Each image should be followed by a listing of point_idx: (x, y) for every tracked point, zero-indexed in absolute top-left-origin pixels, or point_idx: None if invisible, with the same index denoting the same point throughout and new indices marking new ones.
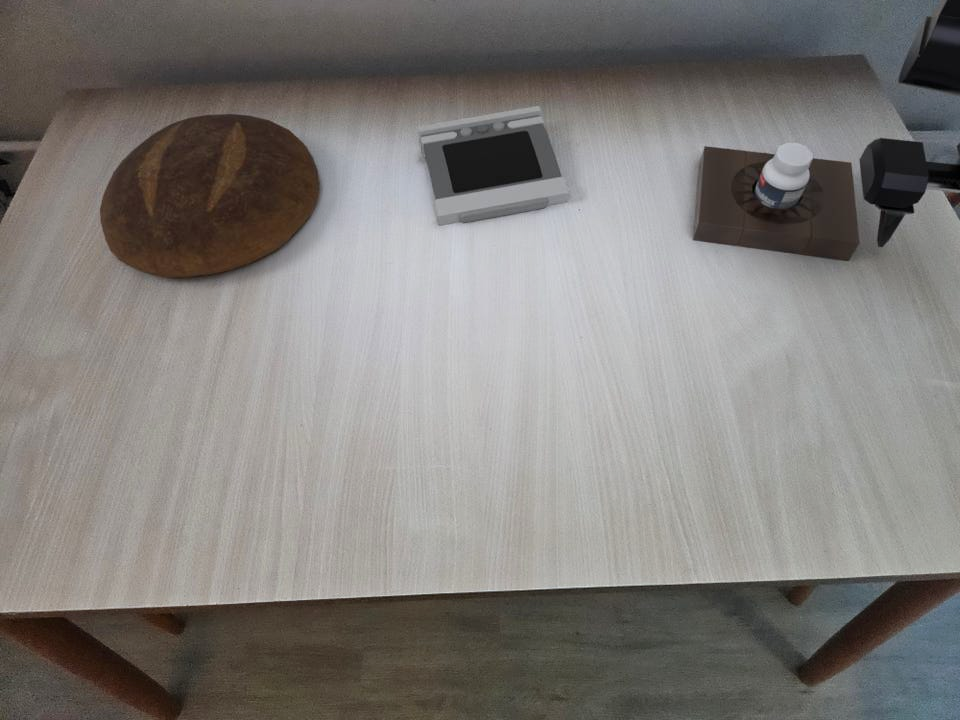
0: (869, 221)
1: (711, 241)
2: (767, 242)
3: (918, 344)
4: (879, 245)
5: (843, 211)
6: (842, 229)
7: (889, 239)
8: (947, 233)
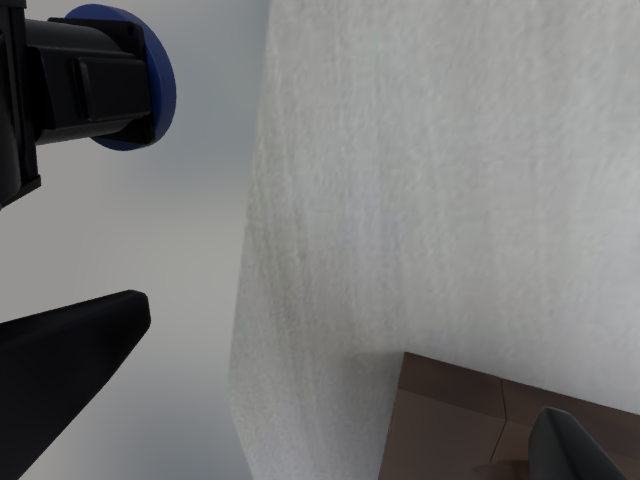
0: (345, 421)
1: None
2: (598, 421)
3: (312, 151)
4: (574, 421)
5: (410, 461)
6: (425, 425)
7: (571, 464)
8: (232, 379)
